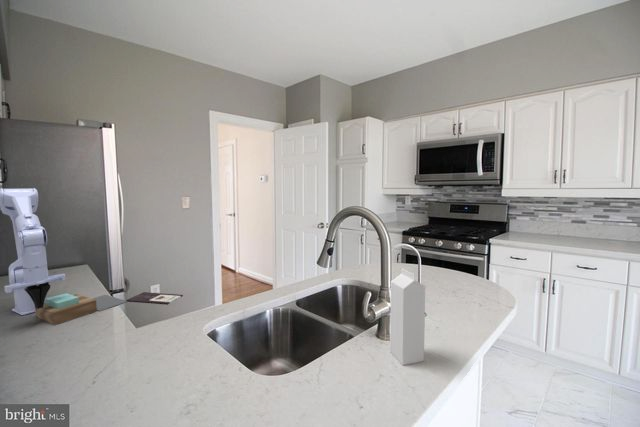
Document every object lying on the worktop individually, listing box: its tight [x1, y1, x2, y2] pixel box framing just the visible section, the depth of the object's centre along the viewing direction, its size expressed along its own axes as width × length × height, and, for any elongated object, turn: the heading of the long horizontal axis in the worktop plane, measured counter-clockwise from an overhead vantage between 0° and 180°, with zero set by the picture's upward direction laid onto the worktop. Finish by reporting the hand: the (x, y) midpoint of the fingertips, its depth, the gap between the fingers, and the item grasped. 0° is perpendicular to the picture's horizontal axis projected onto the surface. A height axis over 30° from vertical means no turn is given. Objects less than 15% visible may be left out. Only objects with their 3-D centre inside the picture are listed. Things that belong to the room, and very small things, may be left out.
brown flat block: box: [34, 293, 98, 326], centre depth 105 cm, size 14×12×4 cm
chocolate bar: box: [125, 291, 184, 306], centre depth 119 cm, size 9×1×18 cm
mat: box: [91, 294, 129, 312], centre depth 115 cm, size 16×10×1 cm, turn 61°
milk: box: [389, 267, 426, 366], centre depth 75 cm, size 6×6×22 cm
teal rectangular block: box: [45, 292, 79, 309], centre depth 104 cm, size 9×6×2 cm, turn 61°
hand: (39, 307), depth 99 cm, fingers closed
